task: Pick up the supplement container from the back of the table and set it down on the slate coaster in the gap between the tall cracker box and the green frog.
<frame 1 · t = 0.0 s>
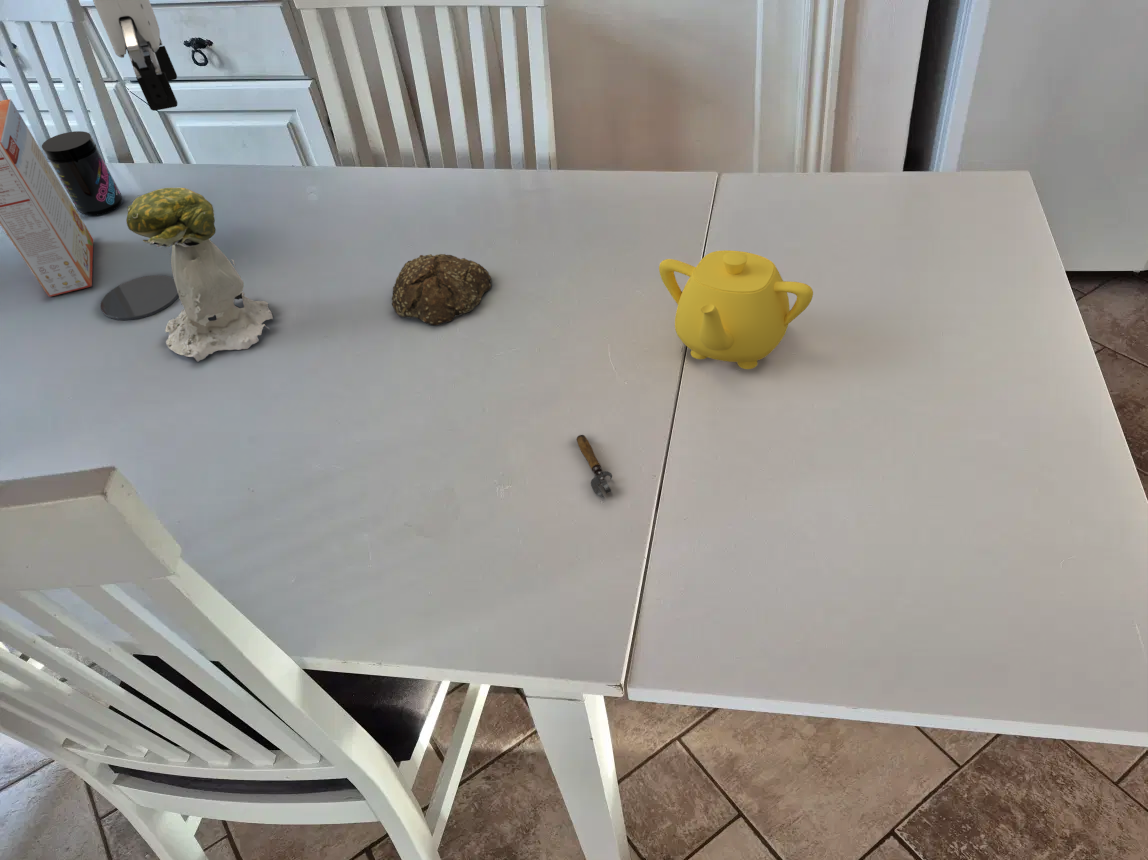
hand: (165, 93, 108), 21 cm above the table, tool pointing down, fingers open, 9 cm apart
frog: (222, 332, 107), on the table
teapot: (726, 354, 100), on the table
cracker box: (72, 270, 119), on the table
bread roll: (440, 298, 110), on the table
can opener: (592, 470, 87), on the table
supplement container: (102, 207, 131), on the table
coaster: (141, 298, 113), on the table
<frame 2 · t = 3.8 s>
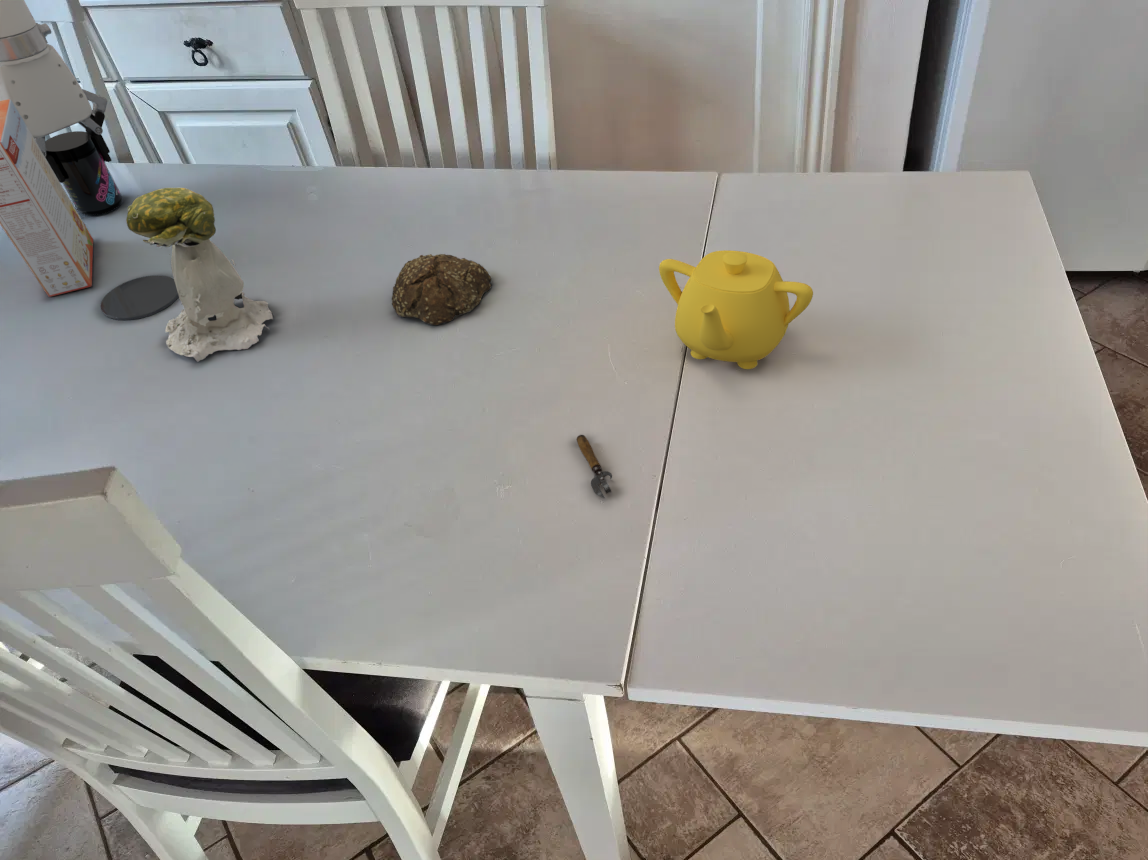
hand: (81, 168, 127), 6 cm above the table, tool pointing down, fingers closed on supplement container, 6 cm apart
supplement container: (102, 207, 131), on the table, touching gripper
everything else where it was.
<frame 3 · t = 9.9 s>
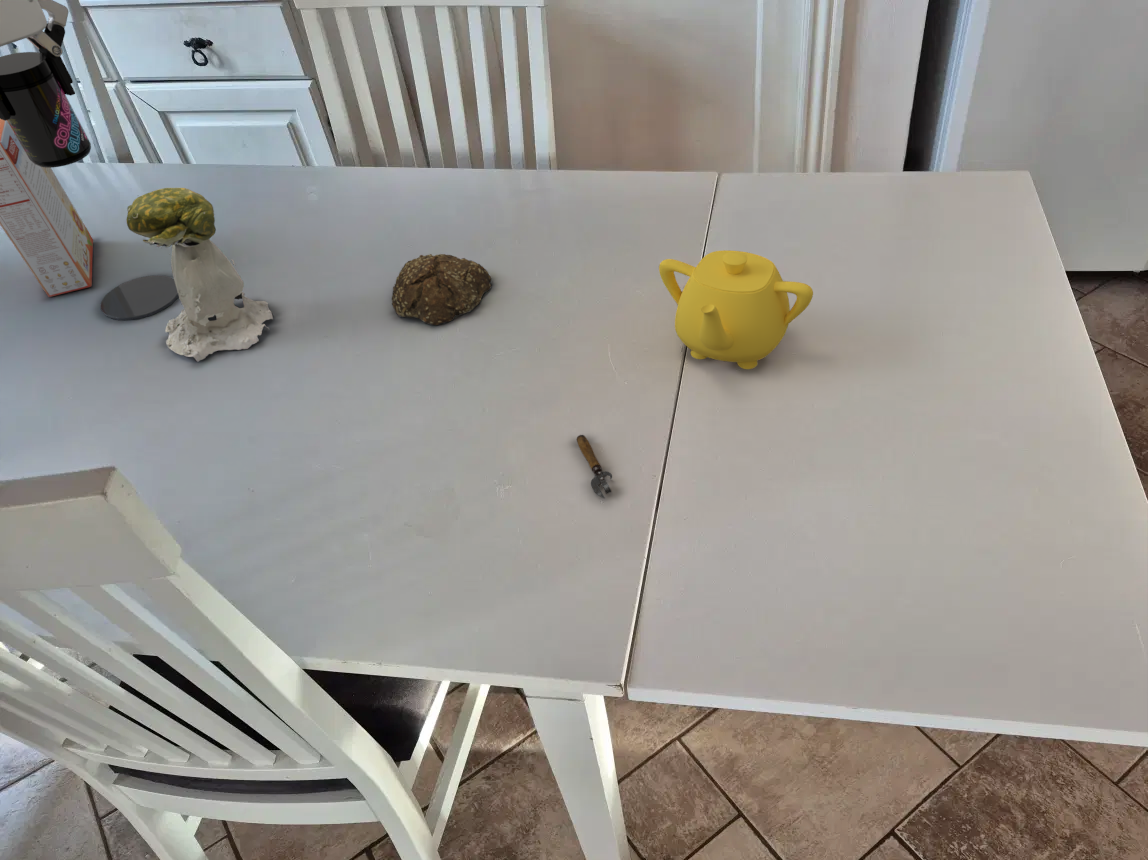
hand: (33, 103, 94), 26 cm above the table, tool pointing down, fingers closed on supplement container, 6 cm apart
supplement container: (64, 157, 99), point 20 cm above the table, touching gripper
everything else where it was.
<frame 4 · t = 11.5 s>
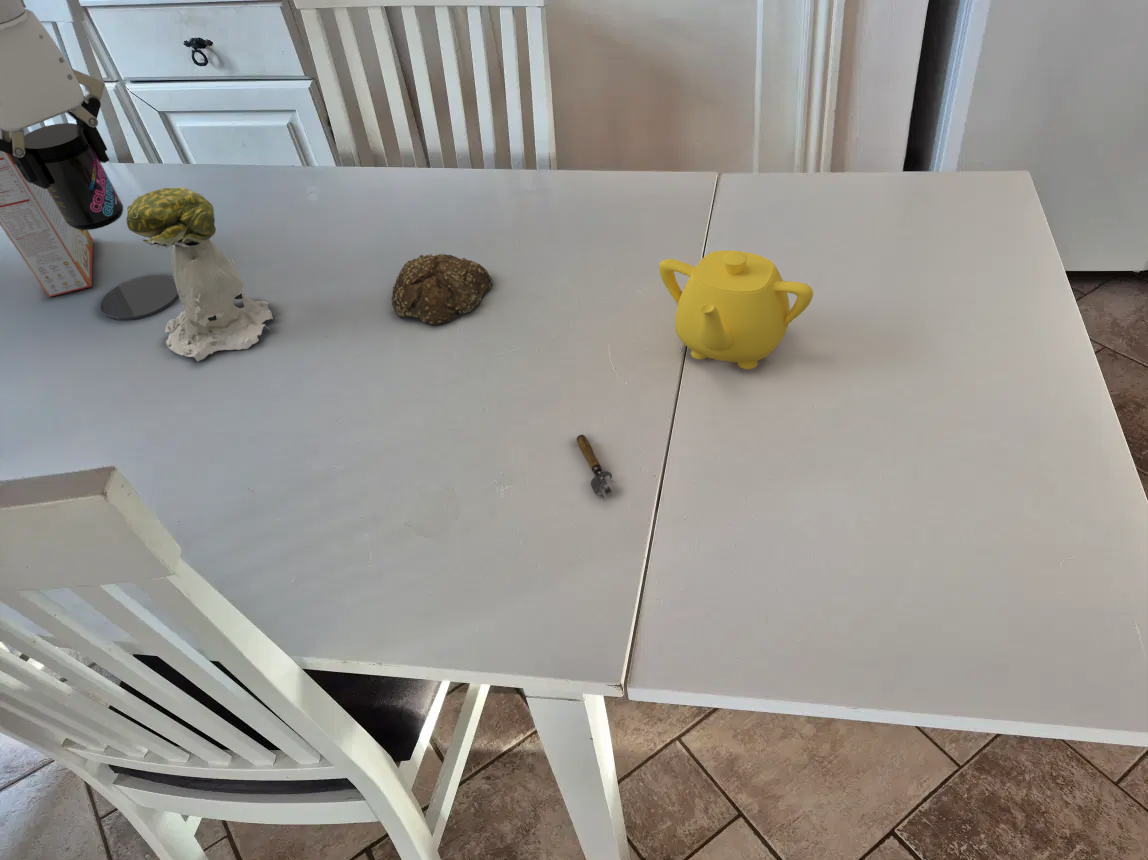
hand: (71, 171, 100), 18 cm above the table, tool pointing down, fingers closed on supplement container, 6 cm apart
supplement container: (98, 219, 104), point 12 cm above the table, touching gripper
everything else where it was.
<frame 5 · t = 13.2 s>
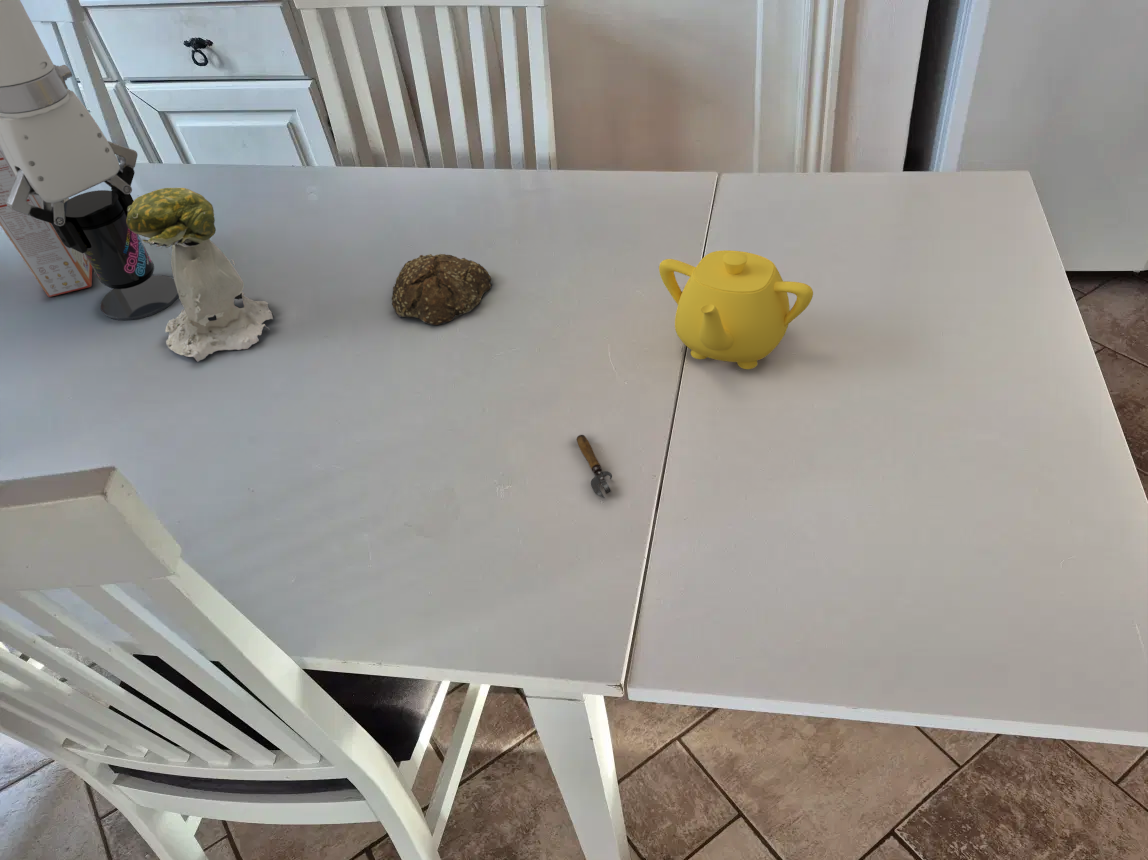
hand: (106, 234, 106), 9 cm above the table, tool pointing down, fingers closed on supplement container, 6 cm apart
supplement container: (130, 278, 110), point 3 cm above the table, touching gripper
everything else where it was.
when the fingers open (7 cm above the table, at t = 14.6 s): supplement container stays where it is, resting on coaster.
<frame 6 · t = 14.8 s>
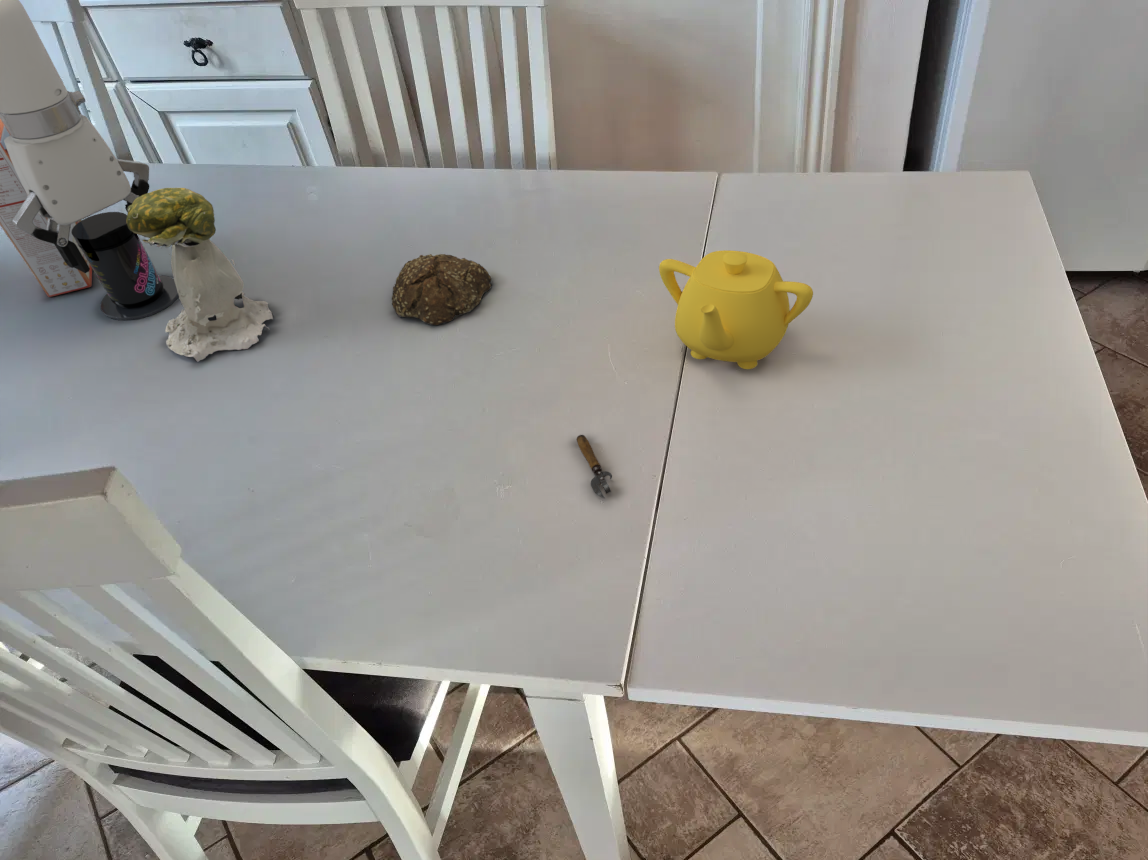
hand: (115, 251, 108), 7 cm above the table, tool pointing down, fingers open, 8 cm apart
supplement container: (140, 297, 113), resting on coaster
everything else where it was.
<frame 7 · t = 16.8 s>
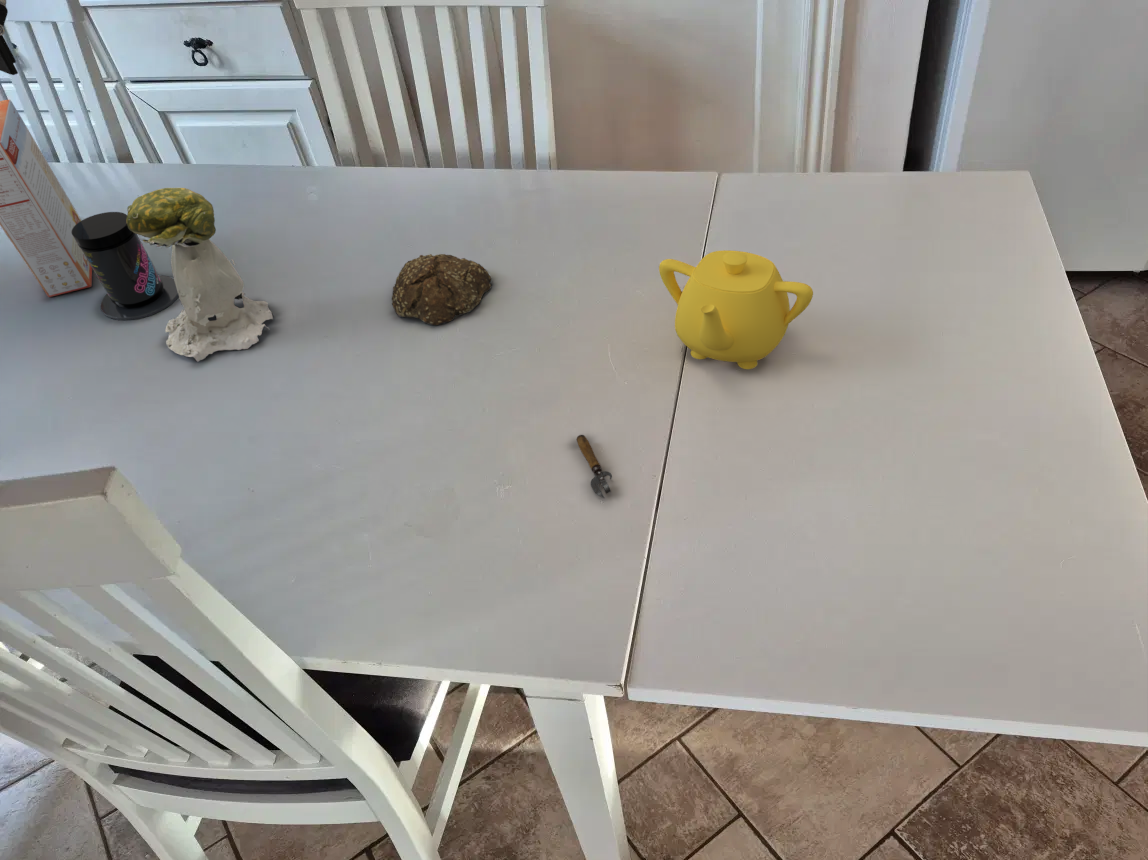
nothing on the table moved.
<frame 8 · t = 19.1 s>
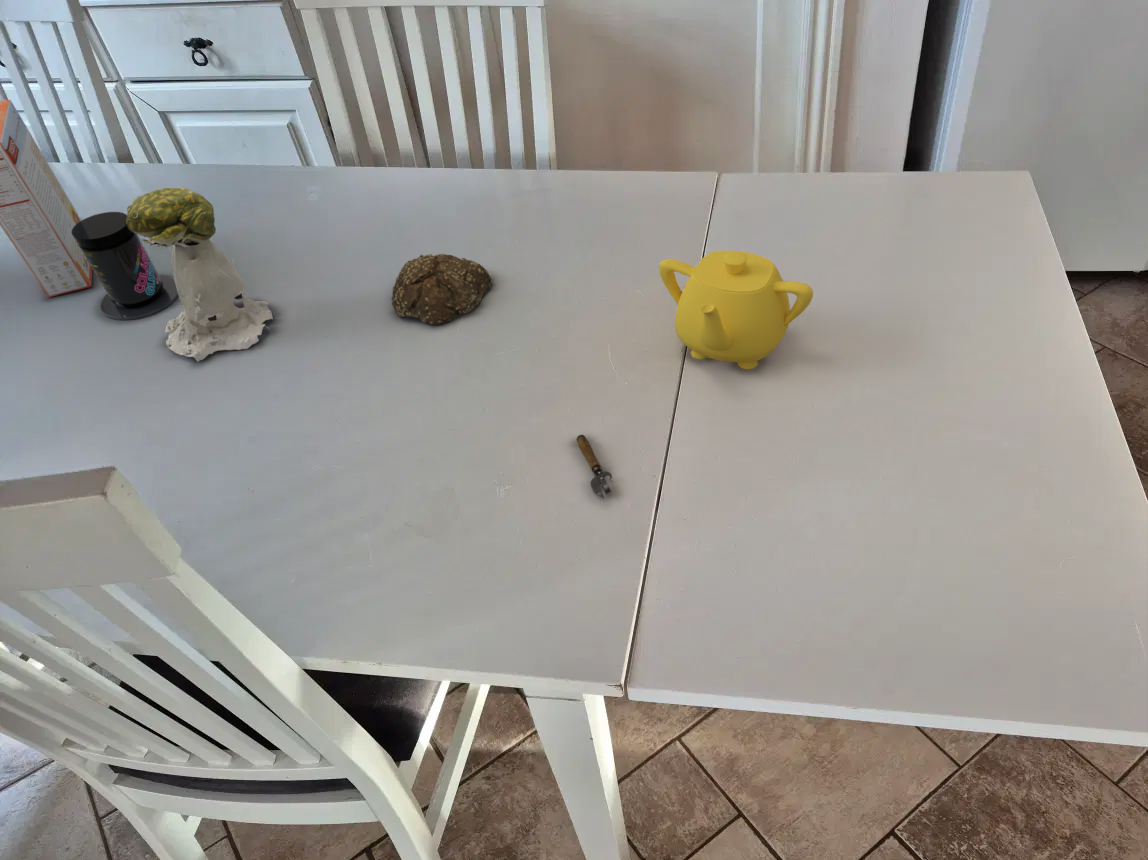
nothing on the table moved.
at the end: supplement container inside the target area on the table beside the cracker box (1.0 cm from its centre), resting on coaster; supplement container inside the target area on the table beside the frog (1.1 cm from its centre), resting on coaster; supplement container tilted 0° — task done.
